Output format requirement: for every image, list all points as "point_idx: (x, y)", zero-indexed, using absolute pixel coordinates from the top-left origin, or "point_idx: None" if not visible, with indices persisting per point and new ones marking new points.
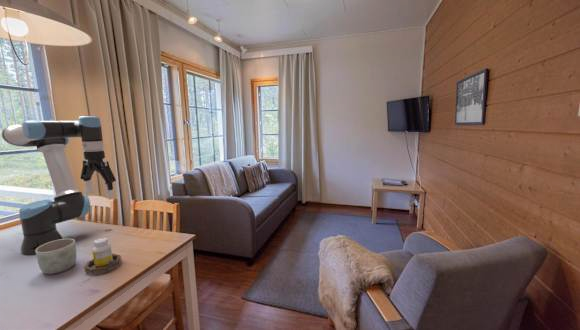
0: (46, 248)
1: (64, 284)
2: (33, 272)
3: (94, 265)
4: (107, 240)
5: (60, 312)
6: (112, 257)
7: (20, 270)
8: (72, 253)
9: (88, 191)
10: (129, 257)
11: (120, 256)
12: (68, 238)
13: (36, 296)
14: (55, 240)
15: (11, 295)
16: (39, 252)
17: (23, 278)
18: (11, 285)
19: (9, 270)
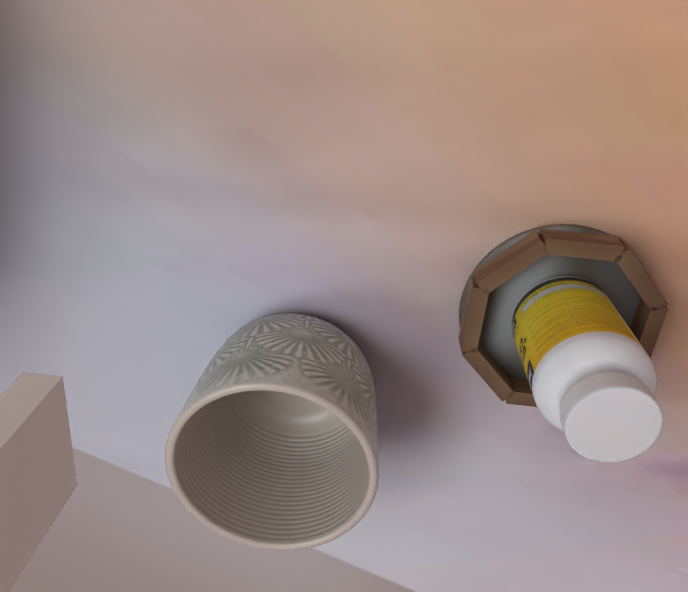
0: (188, 449)
1: (482, 461)
2: None
3: (498, 332)
4: (651, 393)
5: (650, 574)
6: (611, 303)
7: (113, 421)
8: (372, 406)
9: (37, 516)
10: (645, 183)
11: (629, 250)
12: (236, 387)
13: (444, 531)
14: (179, 427)
15: (329, 541)
16: (284, 549)
17: None
18: None
19: None
